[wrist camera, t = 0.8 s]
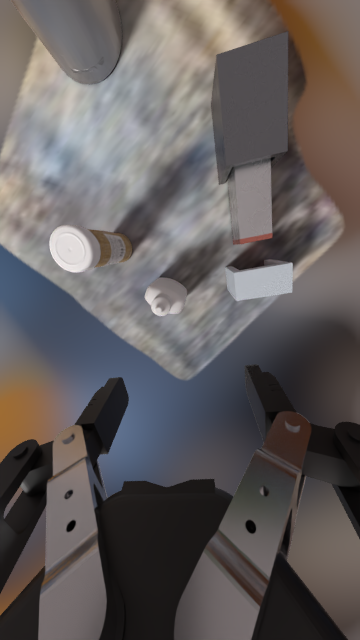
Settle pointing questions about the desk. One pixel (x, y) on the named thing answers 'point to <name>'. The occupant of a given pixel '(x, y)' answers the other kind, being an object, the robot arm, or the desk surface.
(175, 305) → the eye dropper bottle
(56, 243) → the sprinkles bottle
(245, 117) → the sleeve
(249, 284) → the socket block
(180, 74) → the desk surface
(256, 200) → the grey square post
